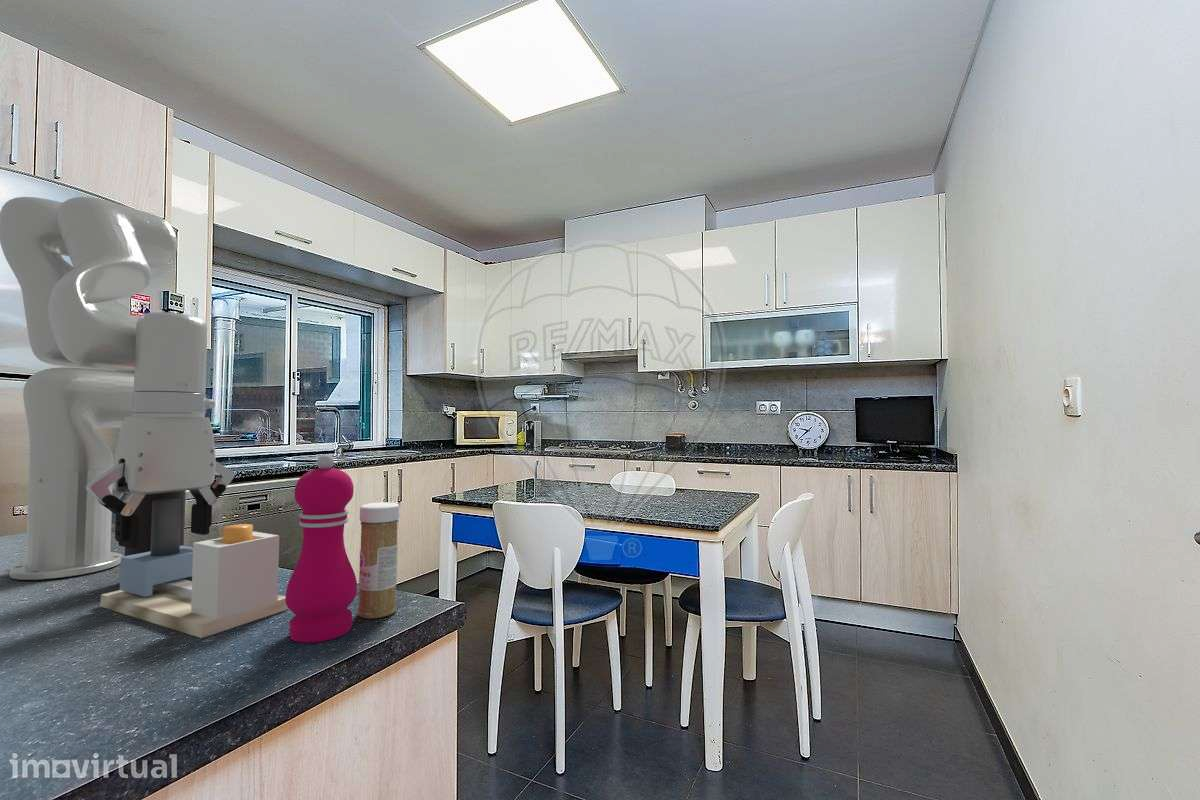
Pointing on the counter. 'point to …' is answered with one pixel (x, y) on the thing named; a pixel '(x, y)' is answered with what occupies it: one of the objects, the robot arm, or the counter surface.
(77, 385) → the robot arm
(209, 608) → the white box holder
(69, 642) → the counter surface
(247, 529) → the plunger
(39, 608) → the counter surface
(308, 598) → the pepper mill
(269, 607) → the rail base
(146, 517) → the vinegar
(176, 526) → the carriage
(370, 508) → the sprinkles bottle
